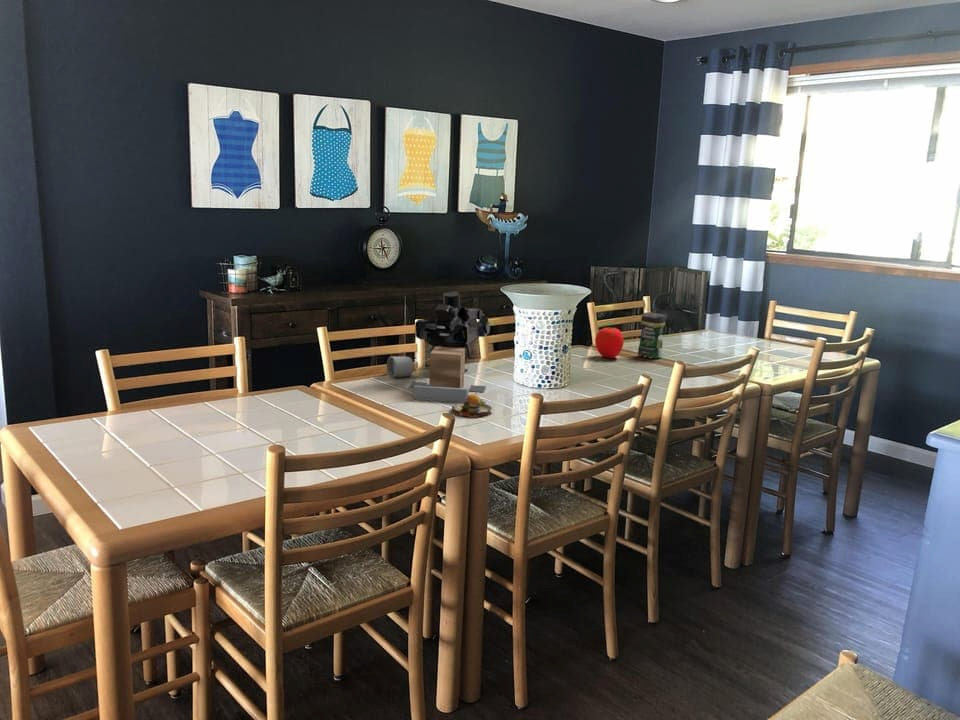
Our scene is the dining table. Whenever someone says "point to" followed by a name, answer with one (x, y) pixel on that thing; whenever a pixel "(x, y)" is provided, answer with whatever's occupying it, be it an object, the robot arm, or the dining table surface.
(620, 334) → the red apple
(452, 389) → the grey t-shaped block
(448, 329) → the robot arm
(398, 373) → the ceramic mug
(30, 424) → the dining table surface
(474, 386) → the mats
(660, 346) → the coffee jar
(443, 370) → the walnut block
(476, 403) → the burger
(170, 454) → the dining table surface
